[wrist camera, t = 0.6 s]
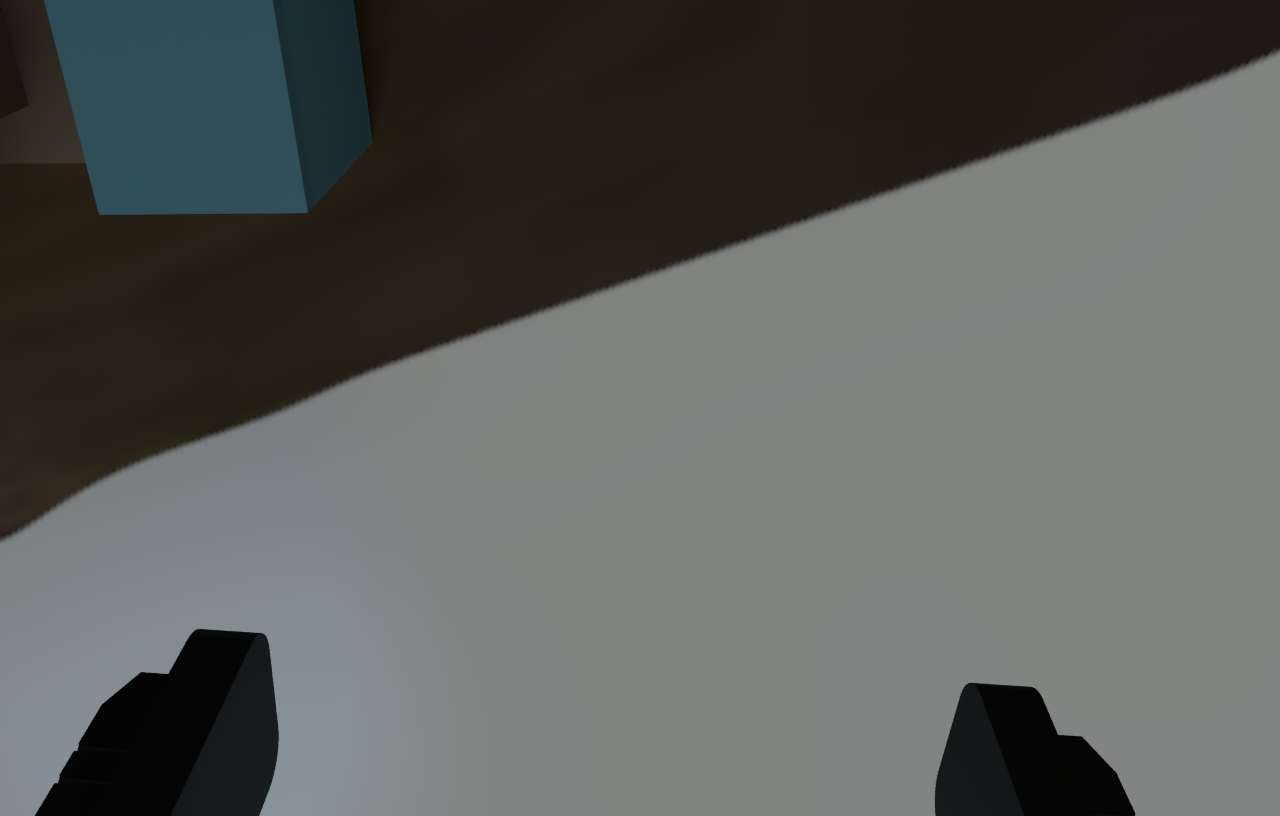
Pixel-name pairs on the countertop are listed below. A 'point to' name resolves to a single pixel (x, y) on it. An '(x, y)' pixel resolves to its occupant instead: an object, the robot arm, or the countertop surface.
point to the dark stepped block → (33, 90)
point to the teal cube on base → (213, 101)
